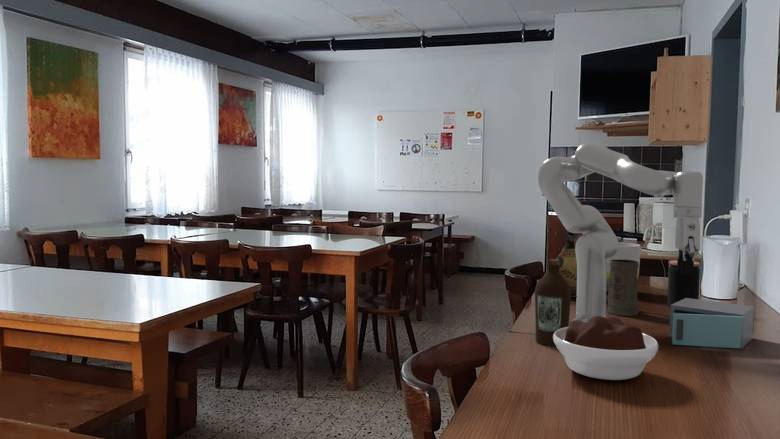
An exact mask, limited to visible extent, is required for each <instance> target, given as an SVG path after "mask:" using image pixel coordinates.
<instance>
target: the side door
mask: <svg viewBox="0 0 780 439" xmlns="http://www.w3.org/2000/svg"><path fill="white" fill-rule="evenodd" d="M744 328H745V317H743V316H722V315H702V314H682V313H673V337H672V338H671V339H672V340H671V344H672V345H676V346H678V345H679V346H696V347H708V348H709V347H712V348H713V347H715V348H727V349H729V348H730V349H741V350H742V349H743V350H744V348H745V345H744Z"/></svg>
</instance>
